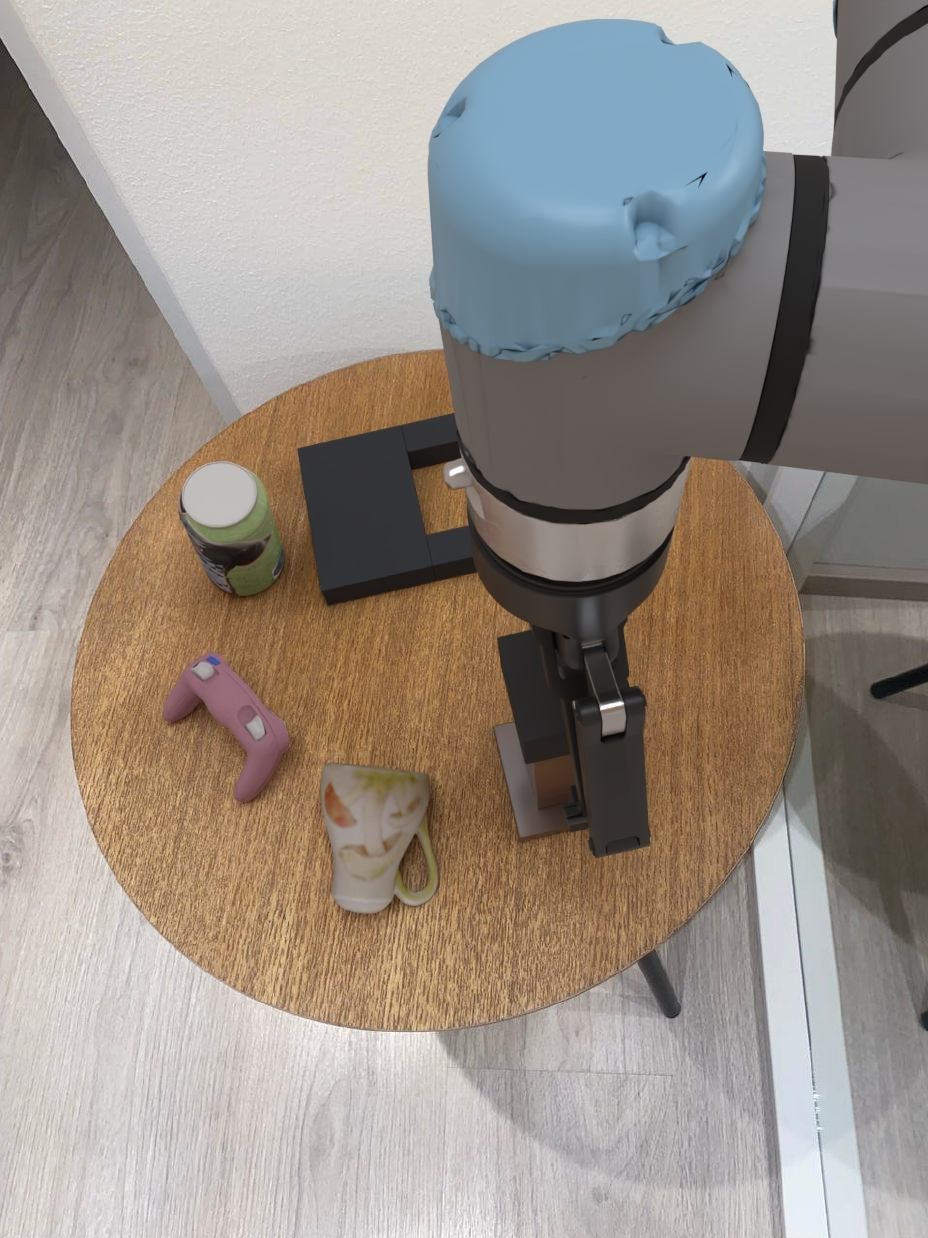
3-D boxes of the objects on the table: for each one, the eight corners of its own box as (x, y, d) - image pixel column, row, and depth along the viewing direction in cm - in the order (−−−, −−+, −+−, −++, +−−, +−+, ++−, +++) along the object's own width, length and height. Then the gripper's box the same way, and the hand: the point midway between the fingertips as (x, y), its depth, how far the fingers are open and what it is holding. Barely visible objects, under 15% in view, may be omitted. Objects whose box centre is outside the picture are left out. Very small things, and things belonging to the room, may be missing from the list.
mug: (313, 926, 64) (266, 822, 58) (372, 815, 71) (334, 713, 65) (417, 945, 61) (377, 837, 55) (467, 828, 68) (436, 722, 62)
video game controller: (292, 780, 69) (305, 721, 64) (240, 813, 67) (249, 755, 62) (209, 690, 73) (215, 628, 68) (156, 718, 70) (158, 655, 65)
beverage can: (229, 524, 77) (176, 435, 66) (314, 545, 76) (274, 458, 65) (196, 593, 75) (136, 512, 64) (284, 616, 73) (237, 538, 62)
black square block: (603, 641, 55) (607, 611, 51) (633, 740, 53) (639, 716, 49) (500, 665, 55) (496, 636, 51) (525, 765, 52) (523, 742, 49)
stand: (604, 704, 68) (615, 621, 56) (636, 815, 65) (656, 753, 52) (493, 730, 68) (479, 653, 55) (519, 842, 65) (511, 787, 52)
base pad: (496, 422, 79) (494, 403, 77) (534, 558, 74) (533, 542, 71) (304, 465, 79) (296, 447, 77) (327, 605, 73) (320, 591, 71)
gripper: (404, 261, 40) (449, 524, 59) (554, 868, 29) (550, 947, 48) (583, 222, 40) (570, 497, 59) (798, 812, 29) (697, 913, 48)
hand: (561, 700), depth 54 cm, fingers open, 13 cm apart
